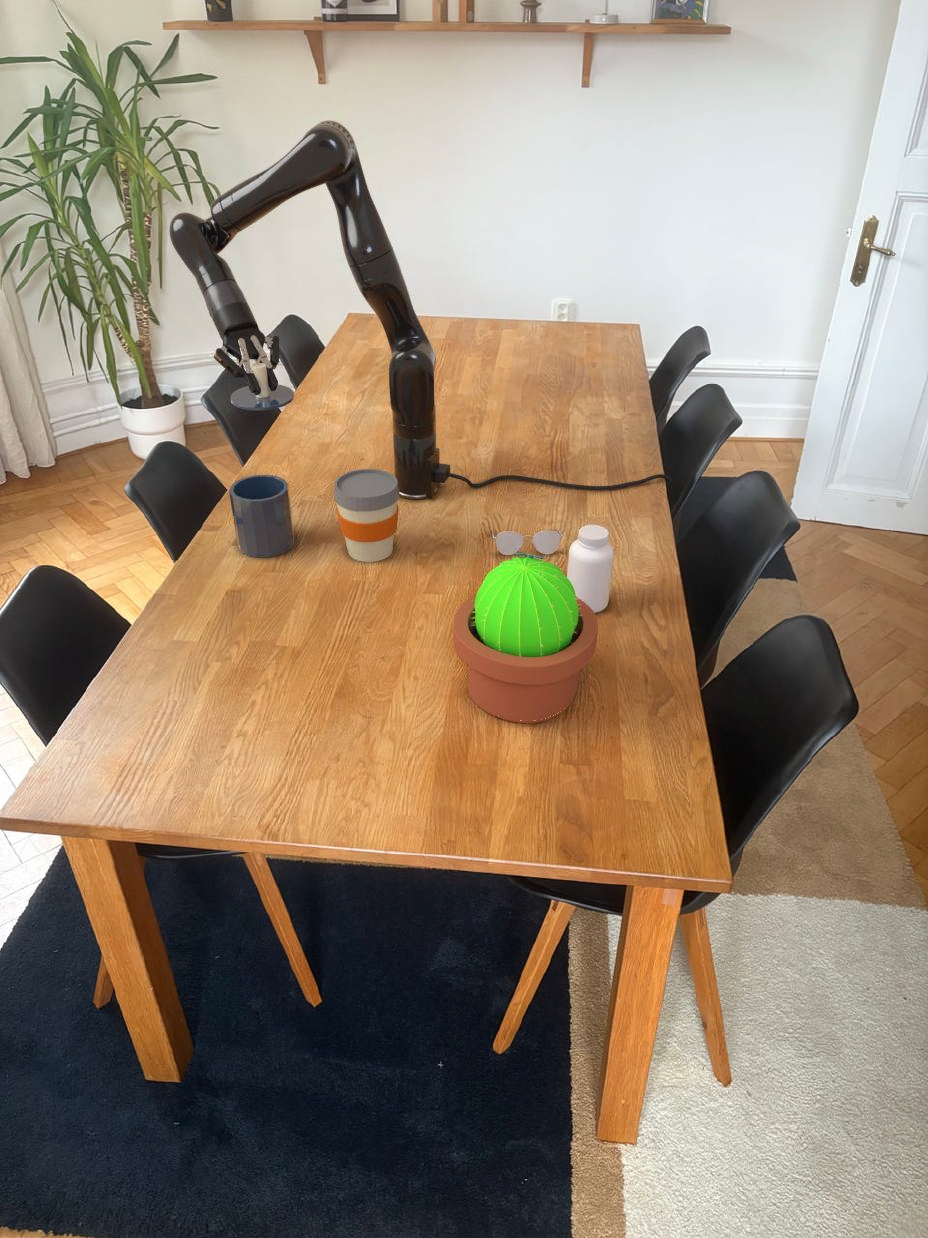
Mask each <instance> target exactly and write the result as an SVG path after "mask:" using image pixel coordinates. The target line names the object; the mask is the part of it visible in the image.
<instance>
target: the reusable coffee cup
mask: <svg viewBox="0 0 928 1238" xmlns="http://www.w3.org/2000/svg"><path fill="white" fill-rule="evenodd" d="M333 489H334V491H333V499H334V502H335V503H336V506H337V508H336V516H337V520H338V523H339V528H340V532H341V534H342V535H343V537H344V540H345V541H344V542H345V545H346V549H347V553H348V556H349V557H351V558H352V559H353V560H355V561H359V562H363V563H372V562H373V563H374V562H379V561H382V560H385V559H386V558H388V557H390V556H391V554H392V553H393V549H394V539H395V533H396V532H397V529H398V519H399V511H400V509H399V507H400V506H399V505H398V500H399V498H400V496H399V488H398V482H397V479H396V477H395V474H392V473H391V472H388V471H387V470H382V469H377V468H360V469H354V470H351V471H350V470H349V471H347V472H345V473H342V474H341V475H340V476H338V477H337V478H336V479H335V481H334V488H333Z"/></svg>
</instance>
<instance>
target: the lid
mask: <svg viewBox="0 0 928 1238" xmlns="http://www.w3.org/2000/svg"><path fill="white" fill-rule="evenodd" d="M250 367H251V370H252V372H251V373H254V375H255V377H256V379H257V382H258V384H259V386H260V388H261V392H260V394H259V395H255V394H254V393H252V392H251V391H250V389H249V387H248V385H246V386H242V387H240V388H238V389H236V390H234V391H233V392H232V393H231V395H230V402H231V404H232V406H234V407H235V408H238V409H242V410H245V411H253V412H254V411H257V412H259V411H270V410H276V409H280V408H283V407H285V406H288V405H289V404H291V403H292V402H293V401H294V399H295V392H294V390H293V389H292V388H291V387H288V386H287V385H282V384H278V385H277V388H276V390H275V391H271V390H270V388H269V384H268V376H267V368H266V364H264V363H256V362H255V363H253V364H251V365H250Z"/></svg>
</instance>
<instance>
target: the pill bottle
mask: <svg viewBox="0 0 928 1238" xmlns="http://www.w3.org/2000/svg"><path fill="white" fill-rule="evenodd" d="M609 538H610V533H609V530H608V529H607V528H606V527H604V526H602V525H598V524H586V525H583V526H582V527H580V528H579V530H578V537H577V539H576V540H574V541H573V542H572V543H571V545H570V547H569V550H568V558H567V559H568V561H567V573H566V577H567V578H568V579H569V581H570V580H571V581H570V582H571V584H572V586H573V588H574V590H575V589H576V590H575V594H576V597H577V598H579V599H581V600H582V601H583V602H585V603H586V604H587V605H588V606H589V607H590V608H591V609H592V610H593V611H594V613H595V614H596V613H599V612H602V611H603V610H605V609H606V608H607V606H608V604H609V600H610V592H611V584H612V574H613V566H614V557H615V556H614V555H615V551H614V548H613V546H612V545H611V544H610V543H609ZM572 579H573V580H572ZM572 582H573V583H572Z"/></svg>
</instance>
